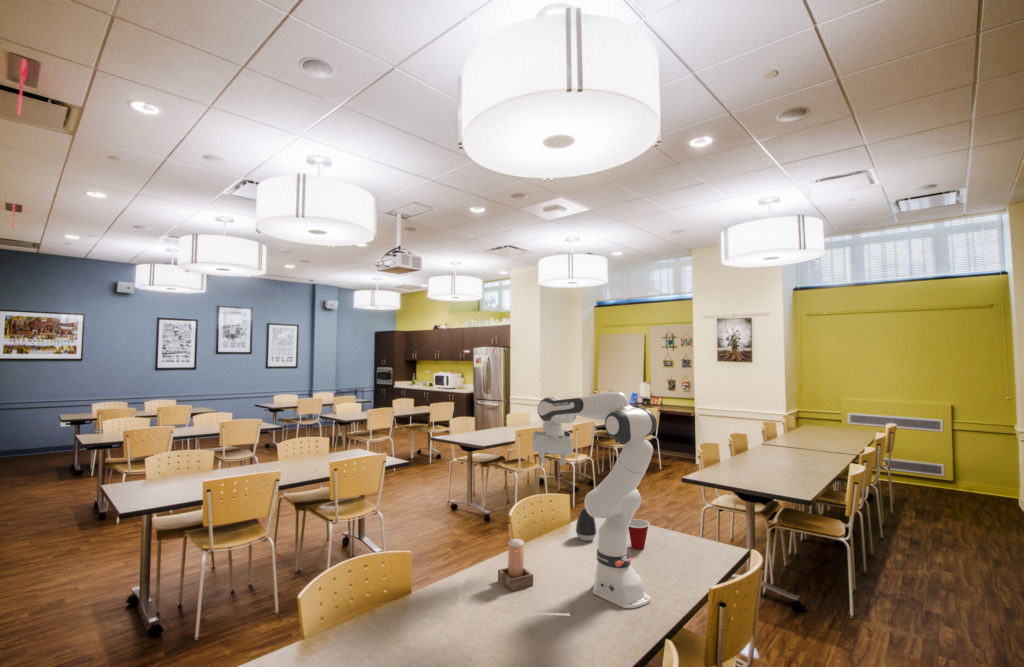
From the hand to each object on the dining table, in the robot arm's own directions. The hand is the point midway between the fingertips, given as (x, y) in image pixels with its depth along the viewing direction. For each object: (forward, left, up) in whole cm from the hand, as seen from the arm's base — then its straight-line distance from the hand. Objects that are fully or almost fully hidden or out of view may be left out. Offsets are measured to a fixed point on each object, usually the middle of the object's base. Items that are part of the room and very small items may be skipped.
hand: (552, 463), depth 212 cm
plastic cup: (-8, -46, -42) cm, 63 cm away
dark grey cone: (+12, -31, -42) cm, 54 cm away
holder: (-13, +26, -42) cm, 51 cm away
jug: (-14, +27, -41) cm, 51 cm away
